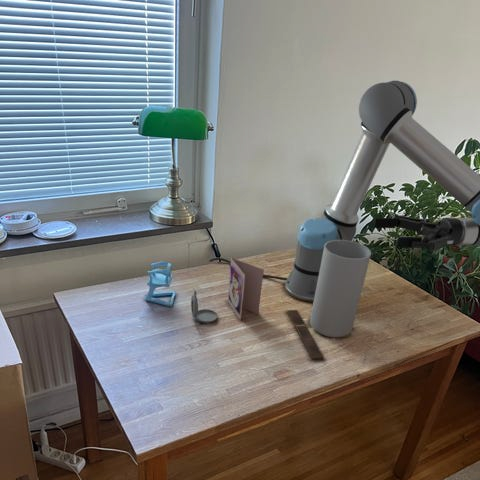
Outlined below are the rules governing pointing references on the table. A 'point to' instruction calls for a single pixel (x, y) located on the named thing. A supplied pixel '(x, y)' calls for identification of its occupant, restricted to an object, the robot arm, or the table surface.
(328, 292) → the cylinder vase
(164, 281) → the chair
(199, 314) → the pocket watch
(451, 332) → the table surface
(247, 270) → the greeting card
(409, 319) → the table surface
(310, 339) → the ruler
